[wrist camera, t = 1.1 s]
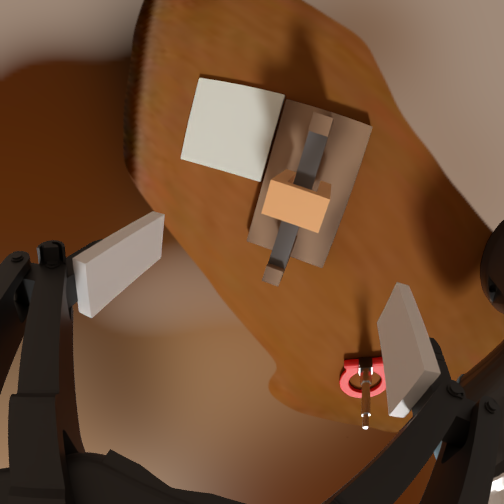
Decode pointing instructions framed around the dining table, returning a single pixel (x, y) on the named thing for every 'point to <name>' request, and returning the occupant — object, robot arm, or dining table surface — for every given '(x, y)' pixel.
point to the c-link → (296, 202)
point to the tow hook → (363, 382)
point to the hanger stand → (309, 181)
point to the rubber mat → (232, 127)
